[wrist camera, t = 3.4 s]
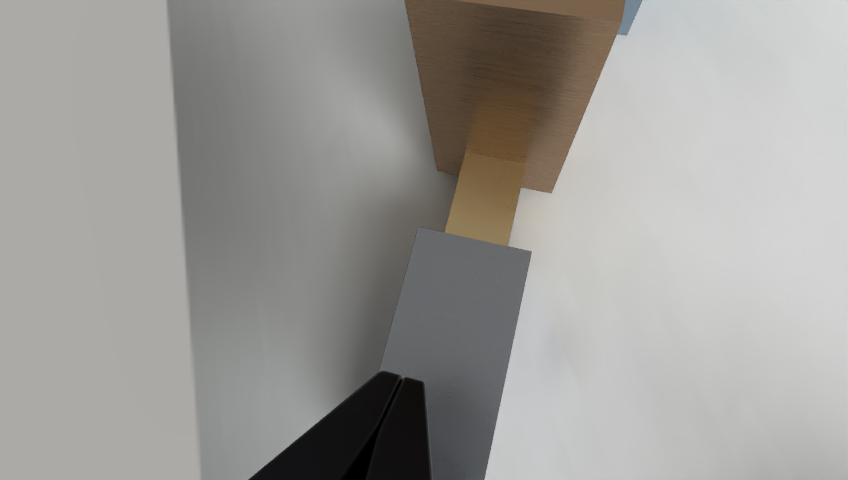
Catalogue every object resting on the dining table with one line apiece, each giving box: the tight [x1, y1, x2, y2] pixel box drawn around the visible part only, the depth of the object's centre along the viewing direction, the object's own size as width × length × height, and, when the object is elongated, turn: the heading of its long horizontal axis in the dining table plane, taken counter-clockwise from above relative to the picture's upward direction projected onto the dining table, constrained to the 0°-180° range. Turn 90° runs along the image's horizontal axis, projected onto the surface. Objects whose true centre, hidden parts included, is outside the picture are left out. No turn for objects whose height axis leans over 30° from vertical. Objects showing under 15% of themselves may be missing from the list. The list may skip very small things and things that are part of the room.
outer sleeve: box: [379, 227, 531, 480], centre depth 19 cm, size 10×4×5 cm, turn 165°
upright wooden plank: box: [405, 0, 626, 246], centre depth 17 cm, size 20×6×11 cm, turn 165°
